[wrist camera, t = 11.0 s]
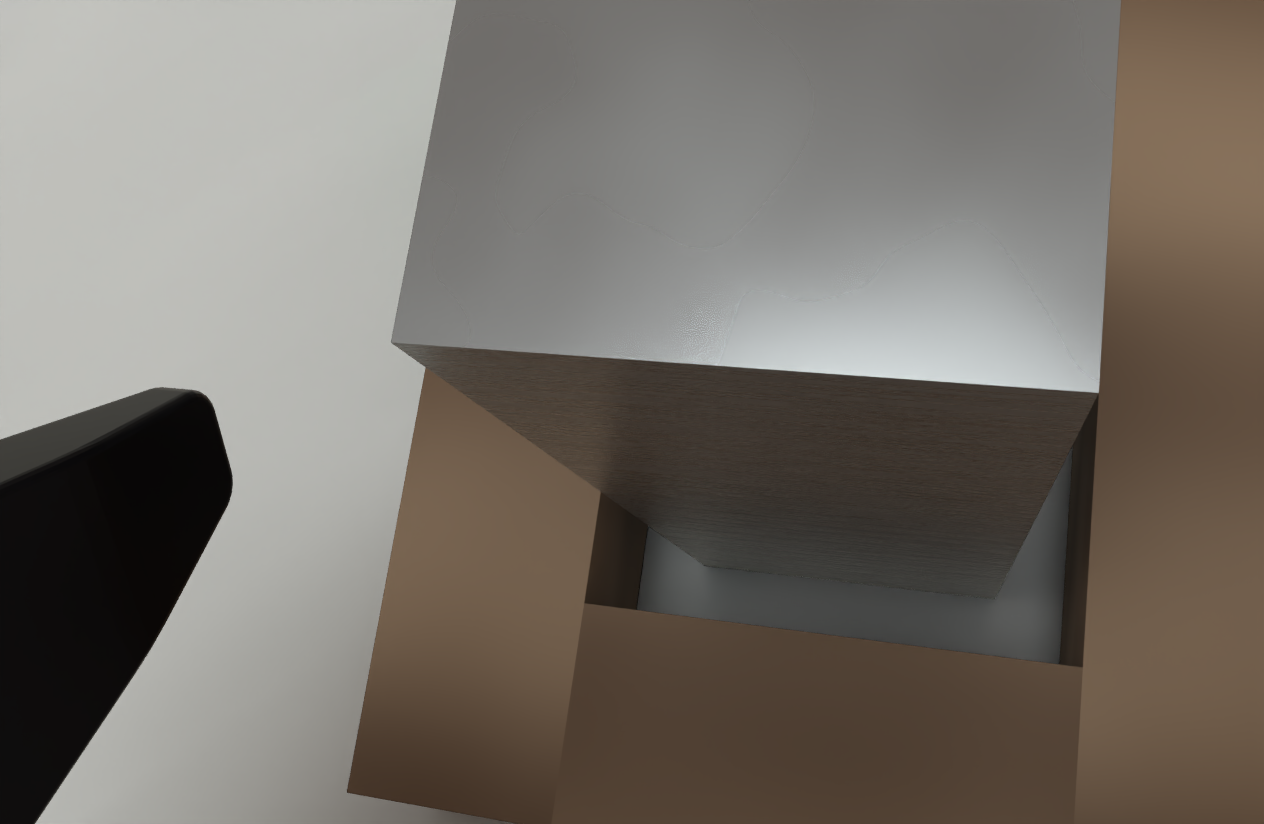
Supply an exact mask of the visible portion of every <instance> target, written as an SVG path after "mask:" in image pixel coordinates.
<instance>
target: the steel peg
mask: <svg viewBox="0 0 1264 824" xmlns="http://www.w3.org/2000/svg"><path fill="white" fill-rule="evenodd" d="M1120 9H1121V0H456V5H455V10H454V16H453V21H452V26H451V31H450V36H449V42H448V47H447V52H446V57H445V62H444V68H443V73H442V78H441V83H440V89H439V94H438V99H437V104H436V109H435V115H434V120H433V125H432V130H431V136H430V141H429V146H428V151H427V156H426V162H425V167H424V172H423V177H422V182H421V188H420V193H419V198H418V203H417V209H416V214H415V219H414V224H413V229H412V235H411V240H410V245H409V250H408V255H407V261H406V266H405V271H404V276H403V282H402V287H401V292H400V297H399V302H398V308H397V313H396V318H395V323H394V329H393V334H392V339H391V343H392V344H394V345H395V346H396V347H398V348H399V349H401V350H402V351H404V352H405V353H406V354H408V355H409V356H411V357H412V358H413V359H415V360H416V361H418V362H419V363H420V364H422V365H423V366H425V367H426V368H427V369H429V370H430V371H432V372H433V373H434V374H436V375H437V376H439V377H440V378H441V379H443V380H444V381H446V382H447V383H449V384H450V385H451V386H453V387H454V388H456V389H457V390H458V391H460V392H461V393H463V394H464V395H465V396H467V397H468V398H470V399H471V400H472V401H474V402H475V403H477V404H478V405H479V406H481V407H482V408H484V409H485V410H486V411H488V412H489V413H491V414H492V415H493V416H495V417H496V418H498V419H499V420H501V421H502V422H503V423H505V424H506V425H508V426H509V427H510V428H512V429H513V430H515V431H516V432H517V433H519V434H520V435H522V436H523V437H524V438H526V439H527V440H529V441H530V442H531V443H533V444H534V445H536V446H537V447H538V448H540V449H541V450H543V451H544V452H545V453H547V454H548V455H550V456H551V457H553V458H554V459H555V460H557V461H558V462H560V463H561V464H562V465H564V466H565V467H567V468H568V469H569V470H571V471H572V472H574V473H575V474H576V475H578V476H579V477H581V478H582V479H583V480H585V481H586V482H588V483H589V484H590V485H592V486H593V487H595V488H596V489H598V490H599V491H600V492H602V493H603V494H605V495H606V496H607V497H609V498H610V499H612V500H613V501H614V502H616V503H617V504H619V505H620V506H621V507H623V508H624V509H626V510H627V511H628V512H630V513H631V514H633V515H634V516H635V517H637V518H638V519H640V520H641V521H642V522H644V523H645V524H647V525H648V526H650V527H651V528H652V529H654V530H655V531H657V532H658V533H659V534H661V535H662V536H664V537H665V538H666V539H668V540H669V541H671V542H672V543H673V544H675V545H676V546H678V547H679V548H680V549H682V550H683V551H685V552H686V553H687V554H689V555H690V556H692V557H693V558H694V559H696V560H697V561H699V562H700V563H702V564H703V565H704V566H711V567H720V568H728V569H737V570H746V571H754V572H763V573H772V574H780V575H789V576H797V577H806V578H815V579H823V580H832V581H841V582H849V583H858V584H867V585H875V586H884V587H893V588H901V589H910V590H919V591H927V592H936V593H945V594H953V595H962V596H971V597H979V598H988V599H995V598H996V596H997V594H998V592H999V590H1000V588H1001V586H1002V584H1003V582H1004V580H1005V578H1006V576H1007V574H1008V572H1009V570H1010V568H1011V566H1012V564H1013V562H1014V560H1015V558H1016V556H1017V554H1018V552H1019V550H1020V548H1021V546H1022V544H1023V542H1024V540H1025V538H1026V536H1027V534H1028V532H1029V530H1030V528H1031V526H1032V525H1033V523H1034V521H1035V519H1036V517H1037V515H1038V513H1039V511H1040V509H1041V507H1042V505H1043V503H1044V501H1045V499H1046V497H1047V495H1048V493H1049V491H1050V489H1051V487H1052V485H1053V483H1054V481H1055V479H1056V477H1057V475H1058V473H1059V471H1060V469H1061V467H1062V465H1063V463H1064V461H1065V459H1066V457H1067V455H1068V453H1069V451H1070V449H1071V447H1072V445H1073V443H1074V441H1075V439H1076V437H1077V435H1078V433H1079V431H1080V429H1081V427H1082V425H1083V423H1084V421H1085V419H1086V417H1087V415H1088V413H1089V411H1090V409H1091V407H1092V405H1093V403H1094V401H1095V399H1096V397H1097V395H1098V394H1099V381H1100V363H1101V346H1102V328H1103V310H1104V292H1105V275H1106V257H1107V239H1108V222H1109V204H1110V186H1111V168H1112V151H1113V133H1114V115H1115V98H1116V80H1117V62H1118V44H1119V27H1120Z"/></svg>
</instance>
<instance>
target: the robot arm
mask: <svg viewBox="0 0 1264 824" xmlns="http://www.w3.org/2000/svg"><path fill="white" fill-rule="evenodd" d="M232 486H233V480H232V472H231V468H230V464H229V460H228V457H227V453H226V450H225V446H224V442H223V439H222V435H221V431H220V428H219V424H218V421H217V417H216V413H215V410H214V407H213V405H212V403H211V401H210V400H209V399H208V397H207V396H206V395H204V394H203V393H201V392H199V391H195V390H187V389H176V388H164V387H160V388H153V389H149V390H146V391H143V392H140V393H138V394H135V395H132V396H129V397H126V398H123V399H120V400H117V401H114V402H111V403H108V404H105V405H102V406H99V407H96V408H93V409H90V410H87V411H84V412H81V413H78V414H75V415H72V416H69V417H66V418H63V419H60V420H57V421H54V422H51V423H48V424H45V425H42V426H39V427H36V428H33V429H30V430H27V431H25V432H22V433H19V434H16V435H13V436H10V437H7V438H4V439H1V440H0V824H35V823H36V821H37V820H38V818H39V817H40V815H41V814H42V813H43V811H44V810H45V808H46V807H47V805H48V804H49V802H50V801H51V799H52V798H53V796H54V795H55V793H56V792H57V790H58V789H59V787H60V786H61V784H62V783H63V781H64V780H65V778H66V777H67V775H68V774H69V772H70V771H71V769H72V768H73V766H74V765H75V763H76V762H77V760H78V759H79V757H80V756H81V754H82V753H83V751H84V750H85V748H86V747H87V745H88V744H89V742H90V741H91V739H92V738H93V736H94V735H95V733H96V732H97V730H98V729H99V727H100V726H101V724H102V723H103V721H104V720H105V718H106V717H107V715H108V714H109V712H110V711H111V709H112V708H113V706H114V705H115V703H116V702H117V700H118V699H119V697H120V696H121V694H122V693H123V691H124V690H125V688H126V687H127V685H128V684H129V682H130V681H131V679H132V678H133V676H134V675H135V673H136V672H137V670H138V668H139V667H140V665H141V664H142V662H143V661H144V659H145V657H146V656H147V654H148V653H149V651H150V650H151V648H152V646H153V644H154V643H155V641H156V639H157V637H158V635H159V634H160V632H161V630H162V628H163V627H164V625H165V623H166V621H167V619H168V617H169V615H170V613H171V612H172V610H173V608H174V606H175V604H176V602H177V600H178V598H179V596H180V595H181V593H182V591H183V589H184V587H185V585H186V583H187V581H188V580H189V578H190V576H191V574H192V572H193V570H194V568H195V566H196V564H197V563H198V561H199V559H200V557H201V555H202V553H203V551H204V549H205V547H206V546H207V544H208V542H209V540H210V538H211V536H212V534H213V532H214V530H215V529H216V527H217V525H218V523H219V521H220V519H221V517H222V515H223V513H224V512H225V510H226V508H227V506H228V503H229V501H230V497H231V494H232Z"/></svg>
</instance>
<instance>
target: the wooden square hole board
mask: <svg viewBox="0 0 1264 824" xmlns="http://www.w3.org/2000/svg"><path fill="white" fill-rule="evenodd" d="M647 528H648V525H647V524H645V523H644V522H642V521H641V520H640V519H638V518H637V517H635V516H634V515H633V514H631V513H630V512H628V511H627V510H626V509H624V508H623V507H621V506H620V505H619V504H617V503H616V502H614V501H613V500H612V499H610V498H609V497H607V496H606V495H605V494H603V493H602V492H600V491H599V490H598V489H596V488H595V487H593V486H592V485H590V484H589V483H588V482H586V481H585V480H583V479H582V478H581V477H579V476H578V475H576V474H575V473H574V472H572V471H571V470H569V469H568V468H567V467H565V466H564V465H562V464H561V463H560V462H558V461H557V460H555V459H554V458H553V457H551V456H550V455H548V454H547V453H545V452H544V451H543V450H541V449H540V448H538V447H537V446H536V445H534V444H533V443H531V442H530V441H529V440H527V439H526V438H524V437H523V436H522V435H520V434H519V433H517V432H516V431H515V430H513V429H512V428H510V427H509V426H508V425H506V424H505V423H503V422H502V421H501V420H499V419H498V418H496V417H495V416H493V415H492V414H491V413H489V412H488V411H486V410H485V409H484V408H482V407H481V406H479V405H478V404H477V403H475V402H474V401H472V400H471V399H470V398H468V397H467V396H465V395H464V394H463V393H461V392H460V391H458V390H457V389H456V388H454V387H453V386H451V385H450V384H449V383H447V382H446V381H444V380H443V379H441V378H440V377H439V376H437V375H436V374H434V373H433V372H432V371H430V370H429V369H427V368H426V369H425V374H424V379H423V385H422V390H421V396H420V401H419V406H418V412H417V417H416V422H415V428H414V433H413V439H412V444H411V449H410V455H409V460H408V466H407V471H406V476H405V482H404V487H403V492H402V498H401V503H400V509H399V514H398V519H397V525H396V530H395V536H394V541H393V546H392V552H391V557H390V562H389V568H388V573H387V579H386V584H385V589H384V595H383V600H382V606H381V611H380V616H379V622H378V627H377V632H376V638H375V643H374V649H373V654H372V659H371V665H370V670H369V676H368V681H367V686H366V692H365V697H364V702H363V708H362V713H361V719H360V724H359V729H358V735H357V740H356V746H355V751H354V756H353V762H352V767H351V773H350V778H349V783H348V789H347V793H352V794H357V795H363V796H369V797H374V798H380V799H385V800H391V801H396V802H402V803H407V804H413V805H418V806H424V807H429V808H435V809H440V810H446V811H451V812H457V813H462V814H468V815H473V816H479V817H484V818H490V819H495V820H501V821H506V822H512V823H517V824H1264V0H1121V9H1120V27H1119V44H1118V62H1117V80H1116V98H1115V115H1114V133H1113V151H1112V168H1111V186H1110V204H1109V222H1108V239H1107V257H1106V275H1105V292H1104V310H1103V328H1102V346H1101V363H1100V381H1099V394H1098V395H1097V397H1096V399H1095V401H1094V403H1093V405H1092V407H1091V409H1090V411H1089V413H1088V415H1087V417H1086V419H1085V421H1084V423H1083V425H1082V427H1081V429H1080V431H1079V433H1078V435H1077V437H1076V439H1075V441H1074V443H1073V455H1072V471H1071V487H1070V503H1069V519H1068V535H1067V551H1066V567H1065V583H1064V599H1063V615H1062V631H1061V647H1060V663H1059V664H1052V663H1044V662H1036V661H1028V660H1021V659H1013V658H1005V657H997V656H989V655H982V654H974V653H966V652H958V651H951V650H943V649H935V648H927V647H920V646H912V645H904V644H896V643H889V642H881V641H873V640H865V639H858V638H850V637H842V636H834V635H826V634H819V633H811V632H803V631H795V630H788V629H780V628H772V627H764V626H757V625H749V624H741V623H733V622H726V621H718V620H710V619H702V618H694V617H687V616H679V615H671V614H663V613H656V612H648V611H640V610H636V606H637V599H638V592H639V585H640V578H641V571H642V563H643V556H644V549H645V542H646V535H647Z"/></svg>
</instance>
